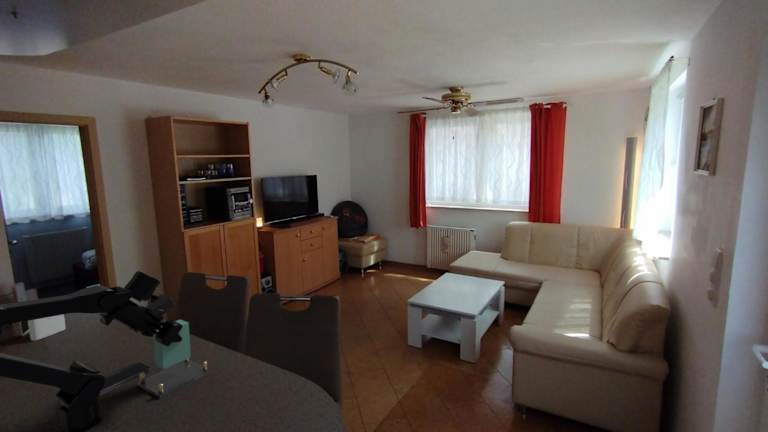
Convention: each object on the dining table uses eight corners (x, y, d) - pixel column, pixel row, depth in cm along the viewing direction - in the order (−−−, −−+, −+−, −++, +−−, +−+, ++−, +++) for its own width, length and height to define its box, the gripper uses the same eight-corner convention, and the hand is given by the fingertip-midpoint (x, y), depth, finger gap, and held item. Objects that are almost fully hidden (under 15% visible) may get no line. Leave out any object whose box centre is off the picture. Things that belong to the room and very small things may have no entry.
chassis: (160, 398, 99) (159, 387, 99) (137, 385, 105) (136, 374, 104) (210, 372, 112) (209, 361, 112) (187, 361, 118) (187, 351, 117)
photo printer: (34, 342, 129) (30, 309, 128) (27, 339, 131) (23, 307, 129) (68, 329, 139) (64, 299, 137) (61, 328, 140) (57, 297, 139)
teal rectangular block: (163, 369, 103) (161, 333, 102) (155, 365, 105) (152, 329, 104) (190, 357, 110) (188, 322, 108) (182, 353, 112) (180, 319, 111)
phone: (152, 368, 112) (95, 394, 99) (152, 371, 113) (95, 398, 100) (138, 361, 116) (81, 386, 103) (138, 364, 116) (82, 389, 103)
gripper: (173, 295, 96) (212, 320, 107) (136, 283, 106) (176, 307, 117) (143, 335, 91) (188, 356, 102) (107, 318, 100) (152, 340, 111)
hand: (176, 338), depth 108 cm, fingers closed on teal rectangular block, 4 cm apart
